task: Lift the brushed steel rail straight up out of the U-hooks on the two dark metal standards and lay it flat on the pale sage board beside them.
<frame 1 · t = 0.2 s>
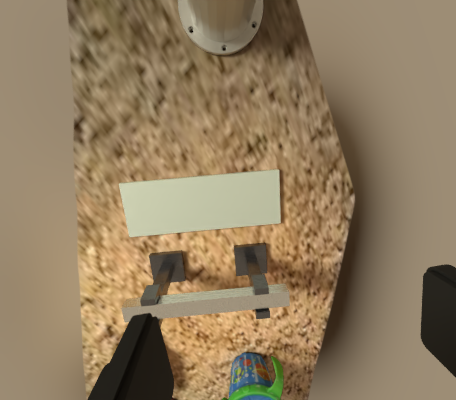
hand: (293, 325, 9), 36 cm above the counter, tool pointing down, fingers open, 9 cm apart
standards: (209, 262, 48), on the counter
board: (202, 203, 45), on the counter
snack cup: (248, 363, 55), on the counter
rail: (207, 298, 37), point 11 cm above the counter, touching standards
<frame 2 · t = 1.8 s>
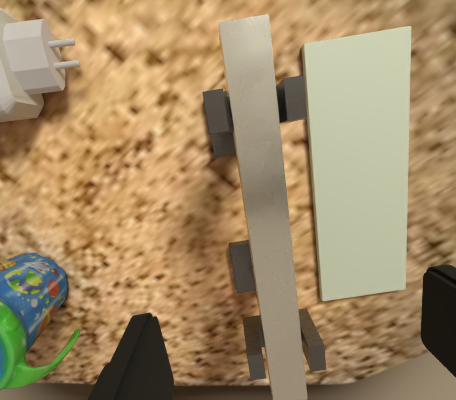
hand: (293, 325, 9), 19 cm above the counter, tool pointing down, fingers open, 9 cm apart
standards: (249, 197, 27), on the counter
charger: (17, 71, 24), on the counter
board: (357, 180, 27), on the counter
snack cup: (39, 279, 29), on the counter
rail: (266, 235, 17), point 11 cm above the counter, touching standards
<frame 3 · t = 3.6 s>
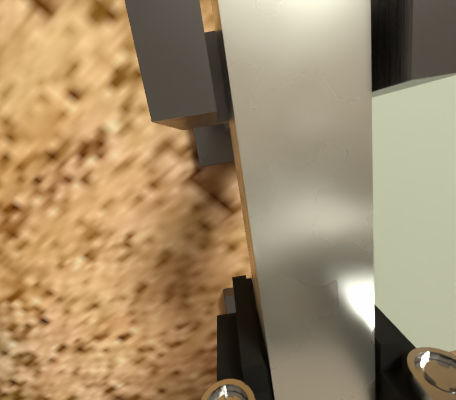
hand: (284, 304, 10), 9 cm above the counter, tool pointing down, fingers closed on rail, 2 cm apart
standards: (252, 224, 19), on the counter
board: (409, 199, 19), on the counter
rail: (299, 341, 8), point 11 cm above the counter, touching gripper, standards
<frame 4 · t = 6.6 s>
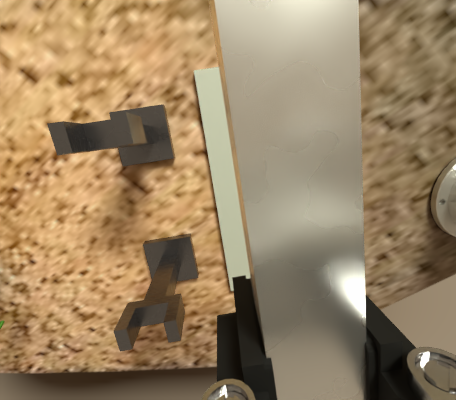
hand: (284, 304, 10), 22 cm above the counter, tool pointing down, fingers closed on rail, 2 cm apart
standards: (159, 200, 31), on the counter
board: (253, 185, 31), on the counter
rail: (295, 329, 8), point 24 cm above the counter, touching gripper
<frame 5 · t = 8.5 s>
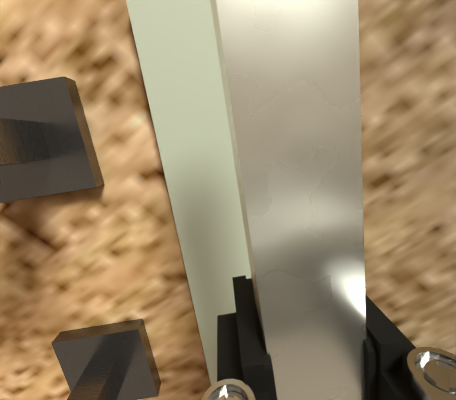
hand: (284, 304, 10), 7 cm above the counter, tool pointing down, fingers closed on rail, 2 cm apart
standards: (80, 263, 17), on the counter
board: (256, 235, 17), on the counter
rail: (296, 335, 8), point 9 cm above the counter, touching gripper
when the fingers open (2 cm above the counter, at t = 9.9 s): rail drops 2 cm, resting on board.
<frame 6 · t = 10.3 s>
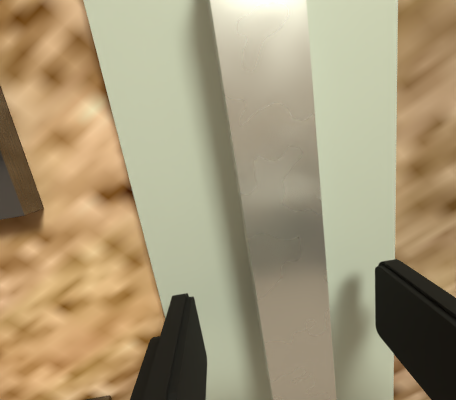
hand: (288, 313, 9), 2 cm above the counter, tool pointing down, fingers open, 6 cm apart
standards: (15, 322, 11), on the counter
board: (274, 280, 11), on the counter
rail: (282, 293, 11), point 1 cm above the counter, touching board
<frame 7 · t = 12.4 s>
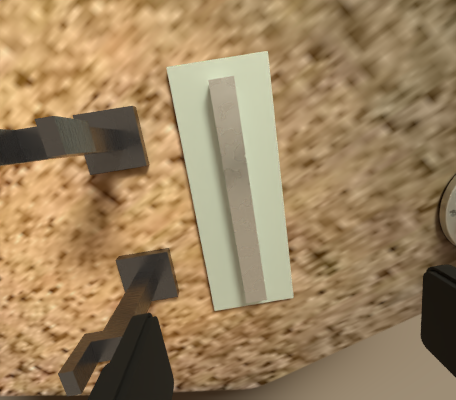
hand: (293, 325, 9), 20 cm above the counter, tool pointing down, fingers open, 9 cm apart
standards: (133, 212, 28), on the counter
board: (237, 195, 28), on the counter
rail: (239, 198, 27), point 1 cm above the counter, touching board
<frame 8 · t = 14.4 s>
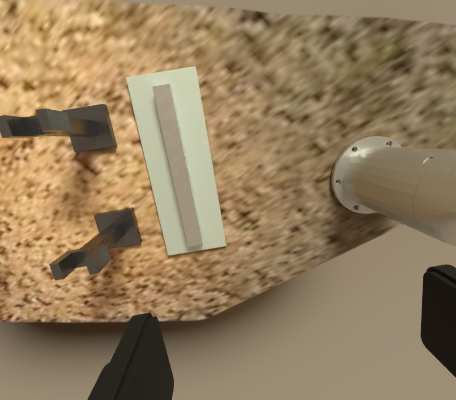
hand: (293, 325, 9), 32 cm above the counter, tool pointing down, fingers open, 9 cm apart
standards: (106, 180, 39), on the counter
board: (181, 168, 39), on the counter
rail: (181, 170, 38), point 1 cm above the counter, touching board
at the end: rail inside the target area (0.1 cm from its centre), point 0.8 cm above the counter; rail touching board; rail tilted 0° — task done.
